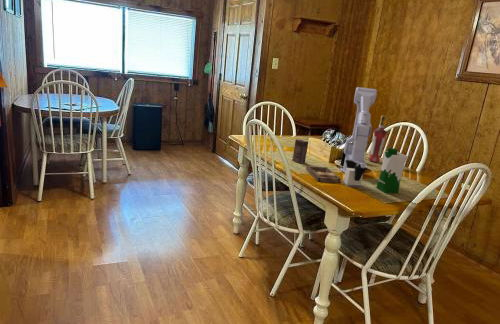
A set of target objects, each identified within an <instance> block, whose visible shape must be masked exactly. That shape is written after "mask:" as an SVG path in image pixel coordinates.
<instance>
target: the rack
mask: <svg viewBox="0 0 500 324" xmlns="http://www.w3.org/2000/svg"><path fill="white" fill-rule="evenodd" d="M305 169H306V172H307V173H308V174H309V175H311V176H312V177H313V178H314V179H315V180H316V181H317V182H321V183H322V182H323V183H334V184H335V183H339V184H340V183H341V181H342V180H341V177H339V176H338V175H337V174H335V175H336V177H335V178H330V177H320V176H318V175H317V173H316V172H326V173H334V172H333V171H332V170H331V169H330V168H328V167H327V166H326V167H325V166H313V165H312V166H311V165H306V167H305Z"/></svg>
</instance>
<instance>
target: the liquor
mask: <svg viewBox="0 0 500 324" xmlns="http://www.w3.org/2000/svg"><path fill="white" fill-rule="evenodd" d="M386 118H387V116H386V115H381V116H380V121H379V125H378V128H375V129H373V134H372V138H371V139H372V141H371V146H370V153H369V157H368V160H369V162H372V163H379V162H380V161H381V159H380V158H381V154H382V150H383V147H384V144H385V139H386V136H387V130H385V129H384V128H385V121H386Z"/></svg>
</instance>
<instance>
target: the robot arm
mask: <svg viewBox="0 0 500 324" xmlns="http://www.w3.org/2000/svg"><path fill="white" fill-rule="evenodd" d="M377 93H378V90H377V88H374V89H373V88H367V87H359V86H357V87H356V88H355V92H354V98H353V103H354V104H355V105H356V109H357V110H356V113H355V114H356V115H355V120H354V125H353V129H352V135H351V136H350V137H348V138H346V140H345V143H344V147H343V153H344V155H345V157H344V163H343V168H342V167H341V168H339V170H340V171H342V172H343V173H344V174H345V171H346V168H355V181H359V180H360V178H361V176H362V175H363V176H364V173H365V172H366V171H367V170H368V167H367V163H366V162H365V156H366V150H367V145H368V141H369V138H370V137H371V134H372V123H371V117H372V116H371V115H372V114H371V113H370V112H369V111H370V107H371V106H373V105H374V103H375V101H376V99H377V95H378V94H377Z"/></svg>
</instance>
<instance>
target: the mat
mask: <svg viewBox="0 0 500 324" xmlns="http://www.w3.org/2000/svg"><path fill="white" fill-rule="evenodd" d="M343 181H344V180H340V183H342V184H343V185H344V186H346V187H347V188H349V187H350V188H364V186H363V185H362V184H361V185H347V184H345V183H344V182H343Z"/></svg>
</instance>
